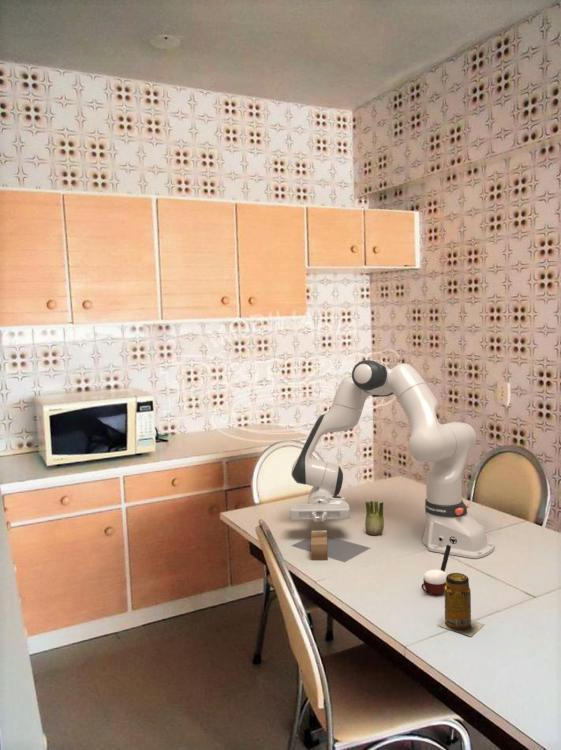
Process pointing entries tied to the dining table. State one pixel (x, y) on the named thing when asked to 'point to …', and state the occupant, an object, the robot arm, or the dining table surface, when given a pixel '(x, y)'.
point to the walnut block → (319, 545)
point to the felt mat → (335, 548)
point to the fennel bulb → (374, 518)
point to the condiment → (459, 605)
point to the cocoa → (436, 577)
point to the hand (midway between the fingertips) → (319, 519)
